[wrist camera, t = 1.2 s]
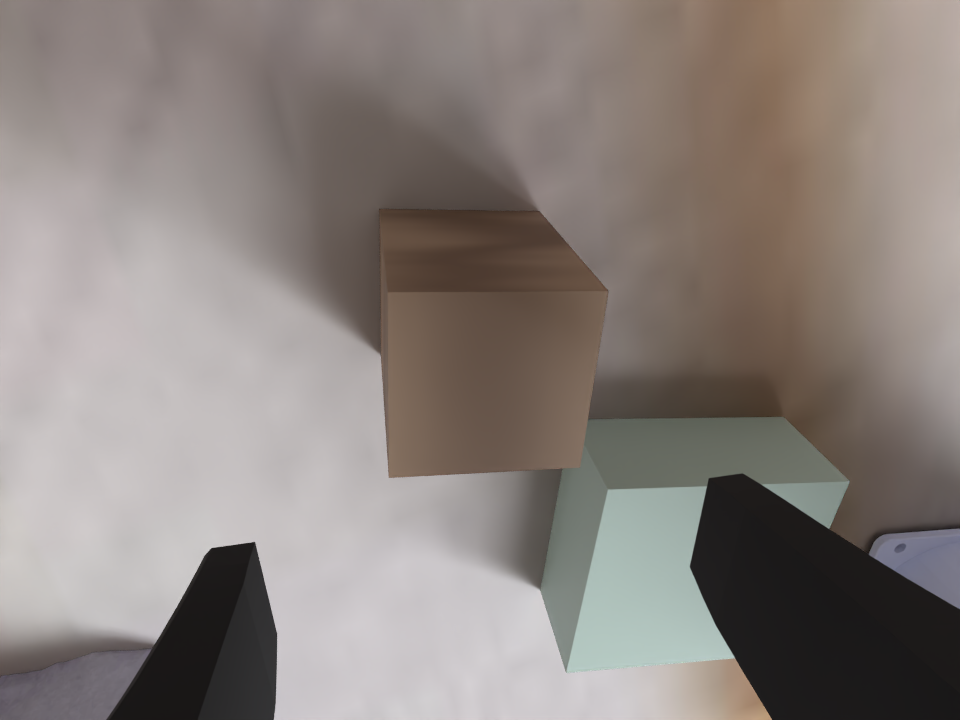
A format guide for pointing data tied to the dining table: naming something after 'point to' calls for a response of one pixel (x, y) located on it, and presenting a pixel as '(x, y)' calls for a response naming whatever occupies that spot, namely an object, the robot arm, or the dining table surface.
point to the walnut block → (484, 342)
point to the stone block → (71, 687)
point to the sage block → (659, 532)
